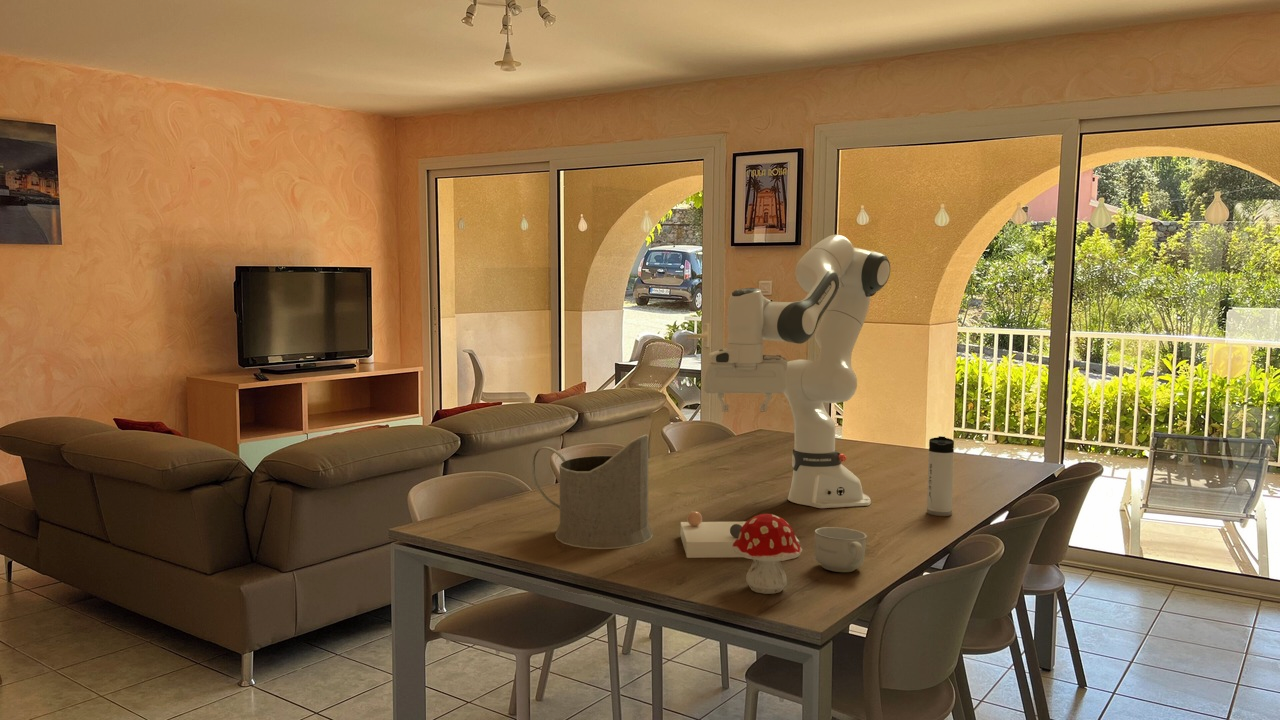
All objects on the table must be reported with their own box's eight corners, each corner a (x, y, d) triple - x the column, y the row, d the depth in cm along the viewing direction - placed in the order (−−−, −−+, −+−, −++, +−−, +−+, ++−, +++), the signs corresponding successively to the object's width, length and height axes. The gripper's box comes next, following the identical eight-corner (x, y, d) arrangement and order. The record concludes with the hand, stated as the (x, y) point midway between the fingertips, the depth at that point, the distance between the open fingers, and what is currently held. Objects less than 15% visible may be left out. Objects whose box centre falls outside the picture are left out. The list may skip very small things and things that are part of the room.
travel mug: (951, 511, 244) (954, 436, 243) (951, 517, 238) (954, 441, 236) (927, 509, 246) (929, 435, 245) (926, 515, 240) (928, 439, 238)
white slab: (784, 535, 221) (784, 521, 220) (799, 556, 204) (799, 541, 203) (680, 536, 220) (680, 522, 219) (686, 557, 203) (686, 542, 202)
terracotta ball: (701, 523, 218) (701, 509, 218) (702, 527, 214) (702, 513, 214) (686, 523, 218) (686, 509, 217) (687, 527, 214) (687, 513, 214)
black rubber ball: (742, 535, 208) (742, 522, 208) (744, 539, 205) (744, 526, 205) (729, 535, 208) (729, 522, 208) (730, 539, 205) (730, 526, 205)
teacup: (808, 561, 200) (808, 525, 200) (856, 560, 201) (857, 524, 201) (826, 582, 187) (827, 543, 186) (878, 580, 188) (879, 542, 187)
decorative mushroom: (776, 606, 173) (777, 528, 171) (717, 589, 182) (717, 515, 181) (815, 588, 183) (816, 514, 182) (757, 573, 192) (758, 502, 191)
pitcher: (625, 554, 206) (625, 443, 204) (507, 536, 219) (505, 433, 217) (667, 529, 226) (668, 428, 224) (557, 514, 240) (556, 420, 238)
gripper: (784, 354, 227) (783, 409, 228) (702, 354, 226) (701, 409, 228) (789, 356, 221) (788, 413, 222) (705, 356, 220) (704, 413, 221)
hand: (744, 411), depth 225 cm, fingers open, 8 cm apart
